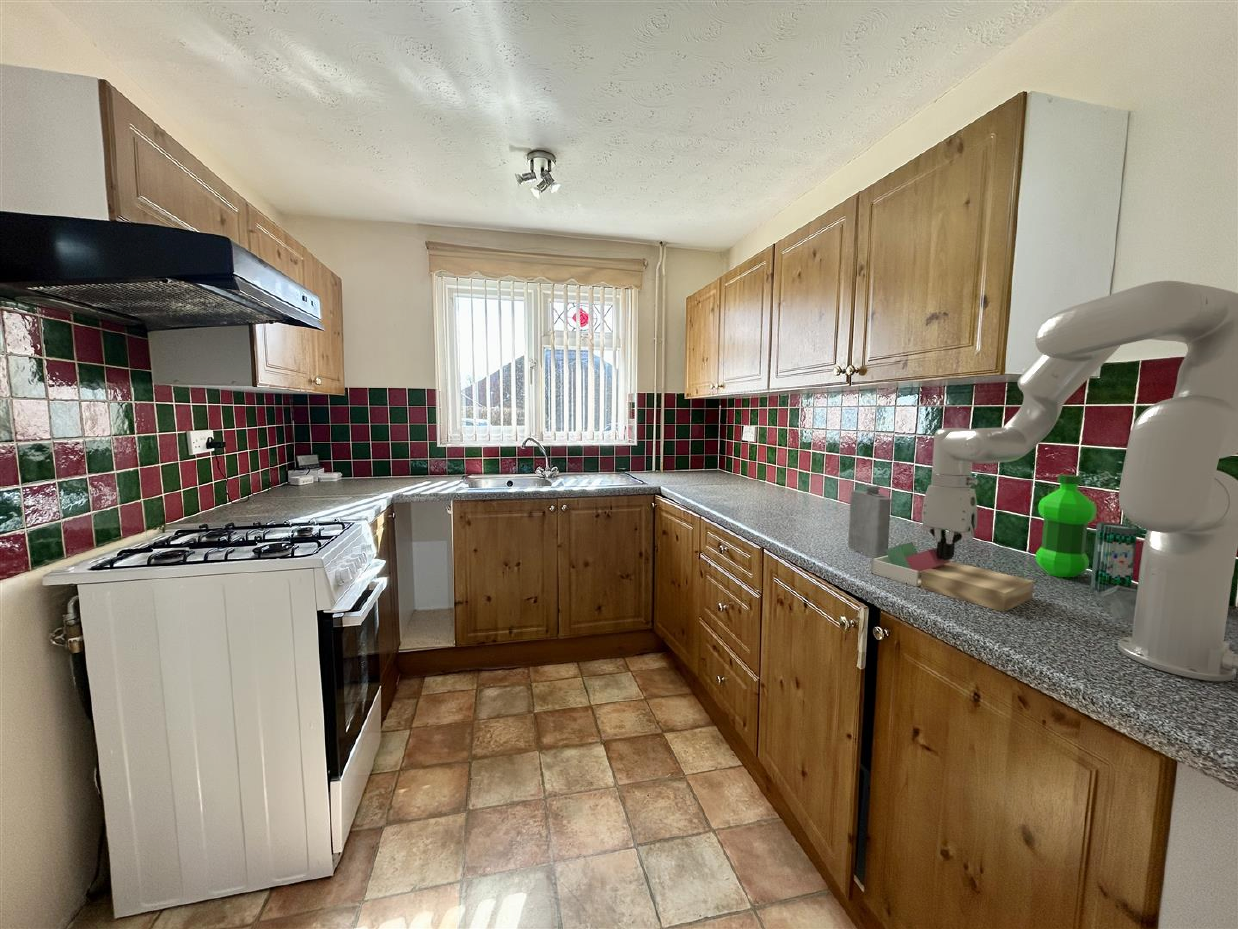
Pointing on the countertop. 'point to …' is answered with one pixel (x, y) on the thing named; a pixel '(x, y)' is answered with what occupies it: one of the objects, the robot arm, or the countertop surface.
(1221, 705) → the countertop surface
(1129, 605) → the stone
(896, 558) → the green block
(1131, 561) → the green printed upright box
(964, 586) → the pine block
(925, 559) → the pink toy cube
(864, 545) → the hip flask
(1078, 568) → the plastic bottle
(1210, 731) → the countertop surface
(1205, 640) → the robot arm
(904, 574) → the tray
